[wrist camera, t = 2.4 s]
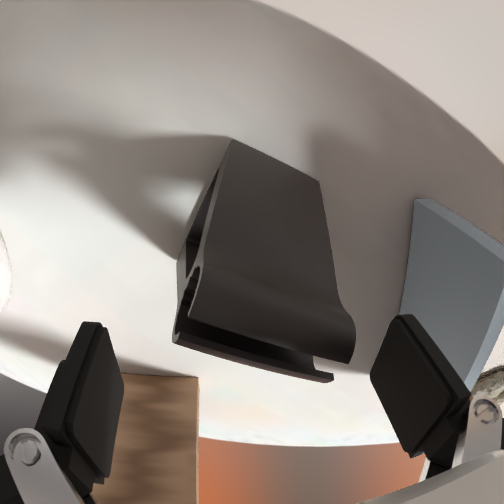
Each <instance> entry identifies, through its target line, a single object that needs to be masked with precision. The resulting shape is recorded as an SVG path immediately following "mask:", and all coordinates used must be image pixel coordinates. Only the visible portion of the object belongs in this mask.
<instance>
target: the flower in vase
mask: <svg viewBox="0 0 504 504" xmlns="http://www.w3.org/2000/svg"><path fill="white" fill-rule="evenodd" d="M11 291H12V271H11V264H10V259H9V255H8V252H7V249H6V246H5V243H4V241H3V239H2V236H1V234H0V312H1V311H2V310H3V309H4V308H5V307H6V306H7V304H8V302H9V300H10V296H11Z"/></svg>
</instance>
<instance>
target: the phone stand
mask: <svg viewBox="0 0 504 504" xmlns="http://www.w3.org/2000/svg"><path fill="white" fill-rule="evenodd" d="M176 265H177V295H178V305H177V312H176V318H175V323H174V327H173V333H172V342H173V343H175V344H178V345H181V346H184V347H187V348H190V349H193V350H196V351H199V352H203V353H206V354H209V355H213V356H216V357H219V358H223V359H226V360H230V361H233V362H237V363H241V364H244V365H248V366H252V367H256V368H260V369H264V370H268V371H272V372H276V373H280V374H284V375H288V376H293V377H297V378H302V379H306V380H311V381H316V382H321V383H328V382H331V381H333V380H334V376H333V373H328V372H324V371H319V370H316V369H315V367H314V364H313V355H314V356H317V357H321V358H325V359H329V360H333V361H337V362H341V363H346V364H349V362H350V360H351V357H352V355H353V352H354V347H355V341H356V331H355V325H354V322H353V320H352V318H351V316H350V315H349V314H348V313H347V312H346V311H345V309H344V308H343V306H342V304H341V302H340V299H339V296H338V291H337V284H336V277H335V271H334V264H333V258H332V251H331V245H330V239H329V233H328V228H327V222H326V217H325V211H324V206H323V201H322V195H321V190H320V185H319V181H317V180H315V179H313V178H311V177H310V176H308V175H306V174H304V173H302V172H300V171H298V170H296V169H294V168H292V167H290V166H288V165H286V164H284V163H282V162H280V161H278V160H276V159H274V158H272V157H270V156H268V155H266V154H264V153H262V152H260V151H258V150H256V149H253V148H251V147H249V146H247V145H245V144H243V143H241V142H238V141H236V140H234V139H233V140H232V142H231V143H230V145H229V147H228V149H227V152H226V154H225V156H224V158H223V160H222V162H221V164H220V166H219V168H218V170H217V172H216V174H215V176H214V179H213V181H212V183H211V185H210V187H209V189H208V191H207V194H206V196H205V198H204V200H203V203H202V205H201V207H200V209H199V211H198V213H197V216H196V218H195V220H194V222H193V225H192V227H191V229H190V231H189V234H188V236H187V238H186V241H185V243H184V245H183V247H182V250H181V252H180V255H179V257H178V260H177V263H176Z"/></svg>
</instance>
